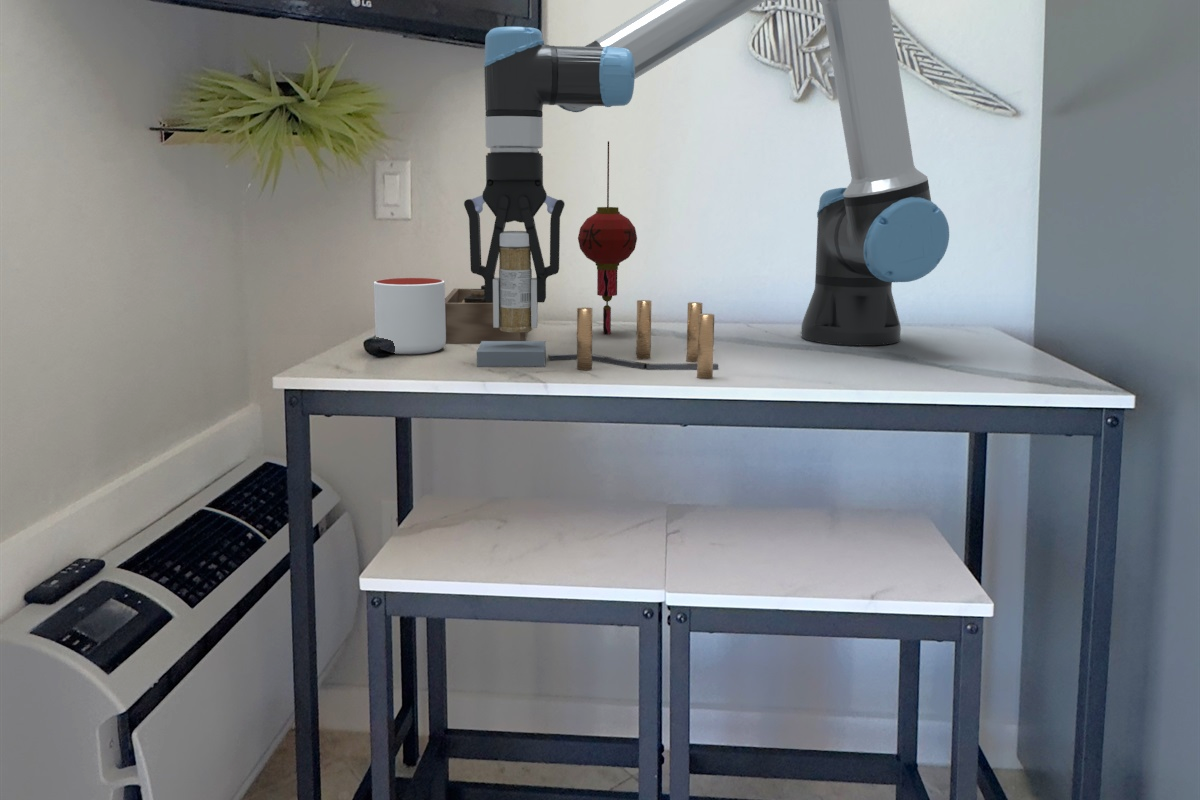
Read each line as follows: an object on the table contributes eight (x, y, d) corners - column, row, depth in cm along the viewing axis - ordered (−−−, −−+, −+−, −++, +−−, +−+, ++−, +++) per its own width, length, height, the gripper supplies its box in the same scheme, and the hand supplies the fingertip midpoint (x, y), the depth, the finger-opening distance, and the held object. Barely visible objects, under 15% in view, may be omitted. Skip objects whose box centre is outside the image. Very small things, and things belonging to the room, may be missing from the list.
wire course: (708, 356, 154) (710, 300, 152) (725, 378, 138) (727, 315, 136) (548, 356, 153) (548, 299, 151) (546, 378, 137) (546, 315, 136)
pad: (545, 355, 154) (545, 341, 154) (544, 366, 146) (544, 351, 145) (481, 355, 154) (481, 341, 154) (476, 366, 145) (476, 351, 145)
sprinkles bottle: (520, 327, 152) (519, 230, 149) (539, 331, 149) (538, 231, 146) (492, 330, 150) (491, 231, 147) (510, 334, 146) (509, 232, 143)
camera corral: (529, 324, 185) (529, 288, 184) (525, 343, 165) (525, 303, 164) (454, 323, 184) (454, 288, 183) (441, 343, 164) (440, 303, 163)
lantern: (600, 327, 181) (601, 142, 175) (647, 333, 176) (650, 141, 170) (565, 334, 174) (565, 140, 167) (614, 340, 168) (616, 140, 162)
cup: (432, 357, 152) (430, 285, 150) (365, 354, 154) (362, 283, 152) (455, 346, 162) (454, 278, 160) (392, 343, 164) (389, 276, 162)
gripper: (580, 151, 148) (580, 322, 153) (451, 150, 148) (455, 322, 153) (580, 151, 141) (579, 330, 145) (444, 150, 140) (448, 329, 145)
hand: (515, 325), depth 149 cm, fingers closed on sprinkles bottle, 4 cm apart
